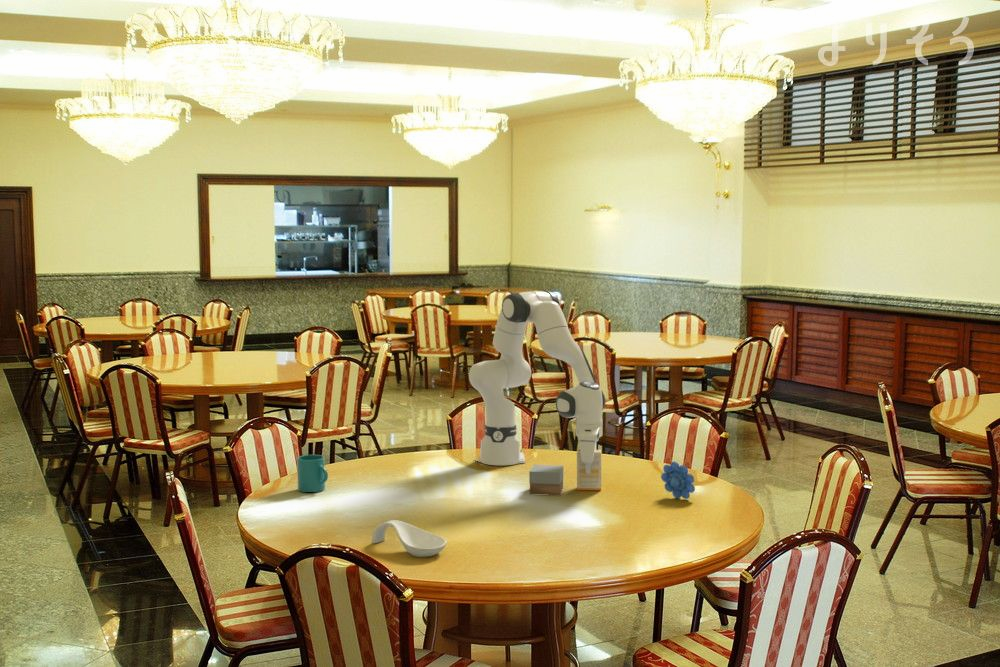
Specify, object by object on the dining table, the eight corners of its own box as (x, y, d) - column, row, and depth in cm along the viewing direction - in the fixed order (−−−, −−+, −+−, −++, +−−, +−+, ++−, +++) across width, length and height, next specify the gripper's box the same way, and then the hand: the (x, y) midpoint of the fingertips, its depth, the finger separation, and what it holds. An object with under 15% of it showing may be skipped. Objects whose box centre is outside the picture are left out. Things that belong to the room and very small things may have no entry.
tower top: (534, 476, 341) (534, 464, 341) (563, 477, 339) (563, 465, 339) (529, 483, 331) (529, 471, 331) (559, 484, 329) (559, 472, 329)
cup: (317, 496, 330) (316, 462, 329) (292, 491, 337) (291, 458, 336) (337, 490, 337) (336, 457, 336) (311, 485, 344) (311, 453, 343)
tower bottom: (534, 488, 341) (533, 476, 341) (563, 489, 339) (563, 477, 339) (529, 495, 331) (529, 483, 331) (560, 496, 330) (560, 484, 329)
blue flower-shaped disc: (655, 498, 325) (656, 462, 324) (663, 494, 331) (664, 458, 329) (689, 503, 319) (690, 466, 318) (697, 499, 324) (698, 462, 323)
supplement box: (601, 487, 340) (601, 449, 339) (601, 490, 335) (601, 452, 334) (576, 486, 341) (577, 449, 340) (576, 490, 336) (576, 451, 335)
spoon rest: (455, 553, 270) (454, 527, 270) (426, 564, 261) (426, 537, 260) (390, 537, 284) (390, 513, 284) (361, 548, 275) (360, 522, 274)
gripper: (582, 424, 347) (582, 463, 348) (577, 436, 327) (577, 477, 328) (600, 425, 346) (600, 464, 347) (596, 436, 326) (596, 478, 327)
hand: (589, 471), depth 338 cm, fingers closed on supplement box, 5 cm apart
